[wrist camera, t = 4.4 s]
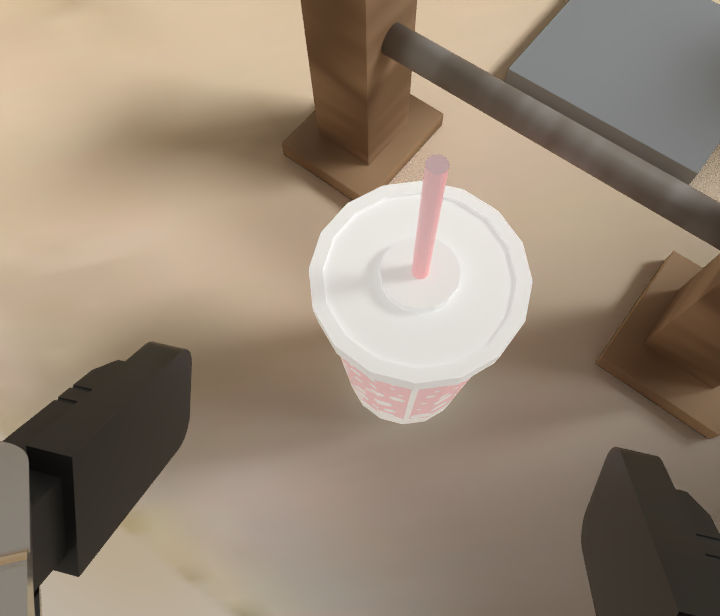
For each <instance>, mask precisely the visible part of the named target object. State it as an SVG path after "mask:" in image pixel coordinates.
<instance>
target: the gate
mask: <svg viewBox="0 0 720 616" xmlns="http://www.w3.org/2000/svg"><path fill="white" fill-rule="evenodd" d="M416 6H417V0H301V7H302V14H303V21H304V29H305V36H306V44H307V51H308V59H309V66H310V73H311V81H312V88H313V96H314V103H315V111H314V112H313V113H312V114H311V115H310V116H309V117H308V118H307V119H306V120H305V121H304V122H303V123H302V124H301V125H300V126H299V127H298V128H297V129H296V130H295V131H294V132H293V133H292V134H291V135H290V136H289V137H288V138H287V139H286V140H285V141H284V142H283V143H282V147H283V151H284V154H285V155H286V156H288V157H289V158H291V159H292V160H294V161H295V162H297V163H298V164H300V165H301V166H303V167H304V168H306V169H307V170H309V171H310V172H312V173H313V174H315V175H316V176H318V177H319V178H321V179H322V180H324V181H325V182H327V183H328V184H330V185H331V186H333V187H334V188H336V189H337V190H338V191H340V192H341V193H343V194H344V195H346V196H347V197H349V198H350V199H352V200H355V199H357V198H359V197H361V196H363V195H365V194H367V193H369V192H371V191H373V190H375V189H377V188H379V187H381V186H383V185H388V183H389V182H390V181H391V180H392V179H393V178H394V177H395V176H396V175H397V174H398V172H399V171H400V170H401V169H402V168H403V167H404V166H405V165H406V164H407V163H408V161H409V160H410V159H411V158H412V157H413V156H414V155H415V154H416V153H417V152H418V150H419V149H420V148H421V147H422V146H423V145H424V144H425V143H426V142H427V141H428V139H429V138H430V137H431V136H432V135H433V134H434V133H435V132H436V131H437V130H438V128H439V127H440V126H441V125H442V120H443V113H441V112H440V111H438V110H436V109H435V108H433V107H431V106H429V105H428V104H426V103H424V102H423V101H421V100H419V99H418V98H416V97H414V96H413V95H411V94H410V86H411V73H412V71H413V72H415V73H417V74H418V75H420V76H422V77H424V78H425V79H427V80H429V81H431V82H432V83H434V84H436V85H437V86H439V87H441V88H443V89H444V90H446V91H448V92H449V93H451V94H453V95H455V96H456V97H458V98H460V99H461V100H463V101H465V102H467V103H468V104H470V105H472V106H473V107H475V108H477V109H479V110H480V111H482V112H484V113H485V114H487V115H489V116H491V117H492V118H494V119H496V120H497V121H499V122H501V123H503V124H504V125H506V126H508V127H509V128H511V129H513V130H515V131H516V132H518V133H520V134H521V135H523V136H525V137H527V138H528V139H530V140H532V141H533V142H535V143H537V144H539V145H540V146H542V147H544V148H545V149H547V150H549V151H551V152H552V153H554V154H556V155H557V156H559V157H561V158H563V159H564V160H566V161H568V162H569V163H571V164H573V165H575V166H576V167H578V168H580V169H581V170H583V171H585V172H587V173H588V174H590V175H592V176H593V177H595V178H597V179H599V180H600V181H602V182H604V183H605V184H607V185H609V186H611V187H612V188H614V189H616V190H617V191H619V192H621V193H623V194H624V195H626V196H628V197H630V198H631V199H633V200H635V201H636V202H638V203H640V204H642V205H643V206H645V207H647V208H648V209H650V210H652V211H654V212H655V213H657V214H659V215H660V216H662V217H664V218H666V219H667V220H669V221H671V222H672V223H674V224H676V225H678V226H679V227H681V228H683V229H684V230H686V231H688V232H690V233H691V234H693V235H695V236H696V237H698V238H700V239H702V240H703V241H705V242H707V243H708V244H710V245H712V246H714V247H715V248H717V249H719V250H720V203H719V202H717V201H716V200H714V199H712V198H710V197H709V196H707V195H705V194H703V193H701V192H700V191H698V190H696V189H694V188H693V187H691V186H689V185H687V184H685V183H684V182H682V181H680V180H678V179H677V178H675V177H673V176H671V175H669V174H668V173H666V172H664V171H662V170H660V169H659V168H657V167H655V166H653V165H652V164H650V163H648V162H646V161H644V160H643V159H641V158H639V157H637V156H636V155H634V154H632V153H630V152H628V151H627V150H625V149H623V148H621V147H620V146H618V145H616V144H614V143H612V142H611V141H609V140H607V139H605V138H604V137H602V136H600V135H598V134H596V133H595V132H593V131H591V130H589V129H587V128H586V127H584V126H582V125H580V124H579V123H577V122H575V121H573V120H571V119H570V118H568V117H566V116H564V115H563V114H561V113H559V112H557V111H555V110H554V109H552V108H550V107H548V106H547V105H545V104H543V103H541V102H539V101H538V100H536V99H534V98H532V97H530V96H529V95H527V94H525V93H523V92H522V91H520V90H518V89H516V88H514V87H513V86H511V85H509V84H507V83H506V82H504V81H502V80H500V79H498V78H497V77H495V76H493V75H491V74H490V73H488V72H486V71H484V70H482V69H481V68H479V67H477V66H475V65H474V64H472V63H470V62H468V61H466V60H465V59H463V58H461V57H459V56H457V55H456V54H454V53H452V52H450V51H449V50H447V49H445V48H443V47H441V46H440V45H438V44H436V43H434V42H433V41H431V40H429V39H427V38H425V37H424V36H422V35H420V34H418V33H417V32H415V20H416ZM596 364H598V365H599V366H601V367H602V368H604V369H605V370H607V371H608V372H610V373H611V374H612V375H614V376H615V377H617V378H618V379H620V380H621V381H623V382H624V383H626V384H627V385H629V386H630V387H632V388H633V389H635V390H636V391H638V392H639V393H641V394H642V395H644V396H645V397H647V398H648V399H650V400H651V401H653V402H654V403H656V404H657V405H659V406H660V407H662V408H663V409H665V410H666V411H668V412H669V413H671V414H672V415H674V416H675V417H677V418H678V419H679V420H681V421H682V422H684V423H685V424H687V425H688V426H690V427H691V428H693V429H694V430H696V431H697V432H699V433H700V434H702V435H703V436H705V437H706V438H708V439H711V438H714V437H717V436H719V435H720V254H719V255H718V256H717V257H715V258H714V259H713V260H712V261H711V262H710V263H709V264H707V265H706V266H705V267H704V268H701V267H700V266H698V265H696V264H695V263H693V262H691V261H690V260H688V259H686V258H685V257H683V256H681V255H680V254H678V253H676V252H675V251H673V252H672V253H671V254H670V255H669V256H668V257H667V258H666V259H665V261H664V262H663V264H662V265H661V267H660V268H659V270H658V271H657V273H656V274H655V276H654V277H653V279H652V280H651V282H650V283H649V285H648V286H647V288H646V289H645V290H644V292H643V293H642V295H641V296H640V298H639V299H638V301H637V302H636V304H635V305H634V307H633V308H632V310H631V311H630V313H629V314H628V316H627V317H626V319H625V320H624V321H623V323H622V324H621V326H620V327H619V329H618V330H617V332H616V333H615V335H614V336H613V338H612V339H611V341H610V342H609V344H608V345H607V347H606V348H605V350H604V351H603V353H602V354H601V355H600V357H599V358H598V360H597V361H596Z"/></svg>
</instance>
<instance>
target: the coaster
mask: <svg viewBox="0 0 720 616" xmlns="http://www.w3.org/2000/svg"><path fill="white" fill-rule="evenodd" d="M505 82H506V83H507V84H509V85H511V86H513V87H514V88H516V89H518V90H520V91H522V92H523V93H525V94H527V95H529V96H530V97H532V98H534V99H536V100H538V101H539V102H541V103H543V104H545V105H547V106H548V107H550V108H552V109H554V110H555V111H557V112H559V113H561V114H563V115H564V116H566V117H568V118H570V119H571V120H573V121H575V122H577V123H579V124H580V125H582V126H584V127H586V128H587V129H589V130H591V131H593V132H595V133H596V134H598V135H600V136H602V137H604V138H605V139H607V140H609V141H611V142H612V143H614V144H616V145H618V146H620V147H621V148H623V149H625V150H627V151H628V152H630V153H632V154H634V155H636V156H637V157H639V158H641V159H643V160H644V161H646V162H648V163H650V164H652V165H653V166H655V167H657V168H659V169H660V170H662V171H664V172H666V173H668V174H669V175H671V176H673V177H675V178H677V179H678V180H680V181H682V182H684V183H685V184H687V185H689V184H690V182H691V181H692V180H693V179H694V178H695V176H696V175H697V174H698V173H699V171H700V170H701V168H702V167H703V166H704V164H705V163H706V161H707V160H708V158H709V157H710V156H711V154H712V153H713V151H714V150H715V148H716V147H717V145H718V144H719V143H720V4H717V3H715V2H713V1H711V0H569V2H568V3H567V4H566V5H565V6H564V7H563V8H562V9H561V11H560V12H559V13H558V14H557V15H556V16H555V17H554V18H553V19H552V21H551V22H550V23H549V24H548V25H547V26H546V27H545V28H544V29H543V31H542V32H541V33H540V34H539V35H538V36H537V37H536V38H535V40H534V41H533V42H532V43H531V44H530V45H529V46H528V47H527V48H526V50H525V51H524V52H523V53H522V54H521V55H520V56H519V57H518V59H517V60H516V61H515V62H514V63H513V64H512V65H511V66H510V67H509V69H508V72H507V76H506V79H505Z"/></svg>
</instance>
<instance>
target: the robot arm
mask: <svg viewBox="0 0 720 616" xmlns="http://www.w3.org/2000/svg"><path fill="white" fill-rule="evenodd" d="M191 366H192V359H191V354H190V352H189V351H188V350H186V349H182V348H178V347H173V346H169V345H164V344H160V343H155V342H149V343H147V344H146V345H144V346H143V347H142V348H141V349H140V350H138V351H137V352H136V353H135V354H134V355H133V356H131V357H130V358H129V359H128V360H127V361H125V362H124V361H120V360H117V361H114V362H111V363H109V364H106V365H104V366H101V367H99V368H96V369H94V370H92V371H90V372H89V373H88V374H87V375H85V376H84V377H83V378H82V379H80V380H79V381H78V382H76V383H75V384H74V386H73V388H69V389H68V390H66V391H65V392H64V393H63V394H61V395H60V396H59V397H58V400H54V401H52V402H51V403H50V404H49V405H47V406H46V407H45V408H44V409H42V410H41V411H40V412H39V413H37V414H36V415H35V416H34V417H32V418H31V419H30V420H29V421H27V422H26V423H25V424H23V425H22V426H21V427H20V428H18V429H17V430H16V431H15V432H13V433H12V434H11V435H10V436H8V437H7V438H6V439H5V440H3V441H0V616H42V613H41V590H40V585H41V584H42V582H43V581H44V580H45V579H46V578H47V576H48V575H49V574H50V573H51V572H52V571H53V570H55V571H59V572H62V573H66V574H70V575H73V576H77V577H79V576H80V575H81V574H82V572H83V571H84V570H85V569H86V567H87V566H88V565H89V563H90V562H91V561H92V559H93V558H94V557H95V556H96V555H97V553H98V552H99V551H100V549H101V548H102V547H103V546H104V544H105V543H106V542H107V540H108V539H109V538H110V536H111V535H112V534H113V533H114V531H115V530H116V529H117V528H118V526H119V525H120V524H121V522H122V521H123V520H124V519H125V517H126V516H127V515H128V513H129V512H130V511H131V510H132V508H133V507H134V506H135V504H136V503H137V502H138V501H139V499H140V498H141V497H142V495H143V494H144V493H145V492H146V490H147V489H148V488H149V486H150V485H151V484H152V483H153V481H154V480H155V479H156V477H157V476H158V475H159V474H160V472H161V471H162V470H163V468H164V467H165V466H166V465H167V463H168V462H169V461H170V459H171V458H172V457H173V456H174V454H175V453H176V452H177V450H178V449H179V448H180V446H181V444H182V442H183V440H184V438H185V435H186V432H187V428H188V424H189V416H190V392H191ZM581 544H582V551H583V556H584V561H585V565H586V570H587V575H588V579H589V584H590V589H591V593H592V598H593V603H594V607H595V612H596V616H720V534H719V532H718V530H717V528H716V526H715V524H714V522H713V520H712V519H711V517H710V515H709V514H708V513H707V512H706V511H705V510H704V509H703V508H702V507H701V506H700V505H699V504H698V503H697V502H696V501H695V500H694V499H693V498H692V497H691V496H690V495H689V494H688V493H687V492H685V491H681V490H676V489H675V488H674V486H673V483H672V481H671V479H670V477H669V475H668V473H667V470H666V468H665V466H664V464H663V462H662V460H661V459H660V458H659V457H658V456H654V455H649V454H645V453H640V452H636V451H632V450H627V449H623V448H618V447H614V448H612V449H611V450H610V452H609V453H608V455H607V457H606V460H605V462H604V465H603V468H602V470H601V473H600V475H599V478H598V481H597V483H596V486H595V489H594V491H593V494H592V496H591V499H590V502H589V504H588V507H587V510H586V512H585V515H584V519H583V525H582V534H581Z"/></svg>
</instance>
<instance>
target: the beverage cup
mask: <svg viewBox="0 0 720 616" xmlns="http://www.w3.org/2000/svg"><path fill="white" fill-rule="evenodd" d="M448 169H449V162H448V160H447V159H446V158H445V157H443V156H441V155H433V156H431V157H429V158H428V159H427V160H426V163H425V169H424V177H423V181H416V182H408V183H400V184H391V185H383V186H381V187H379V188H377V189H375V190H373V191H371V192H369V193H367V194H365V195H363V196H361V197H359V198H357V199H355V200H353V201H351V202H349V203H347V204H346V205H345V206H344V207H343V208H342V210H341V211H340V212H339V213H338V214H337V215H336V216H335V217H334V218H333V220H332V221H331V222H330V223H329V224H328V225H327V226H326V227H325V228H324V230H323V231H322V232H321V234H320V237H319V240H318V243H317V246H316V249H315V252H314V255H313V258H312V260H311V263H310V266H309V278H310V287H311V297H312V306H313V312H314V314H315V316H316V319H317V321H318V323H319V324H320V326H321V328H322V329H323V331H324V333H325V335H326V336H327V338H328V340H329V341H330V343H331V345H332V346H333V348H334V350H335V352H336V353H337V354H338V355H339V356H340V357H341V360H342V362H343V365H344V368H345V370H346V373H347V375H348V378H349V381H350V383H351V386H352V388H353V389H354V391H355V393H356V394H357V396H358V398H359V400H360V401H361V403H362V405H363V406H365V407H366V408H367V409H369V410H370V411H371V412H373V413H374V414H375V415H376V416H378V417H379V418H381V419H384V420H388V421H392V422H396V423H399V424H408V423H416V422H423V421H426V420H428V419H429V418H431V417H433V416H435V415H436V414H438V413H440V412H441V411H443V410H444V409H445V408H446V407H447V406H448V404H449V403H450V402H451V401H452V400H453V398H454V397H455V396H456V395H457V394H458V392H459V391H460V390H461V389H462V387H463V386H464V385H465V384H466V383H467V381H468V380H469V379H470V378H471V377H472V376H473V375H475V374H477V373H478V372H480V371H482V370H484V369H485V368H487V367H489V366H491V365H492V364H494V363H495V362H496V360H497V359H498V358H499V357H500V356H501V354H502V353H503V352H504V350H505V349H506V348H507V346H508V345H509V343H510V342H511V341H512V339H513V338H514V336H515V335H516V334H517V332H518V331H519V329H520V328H521V327H522V325H523V324H524V322H525V321H526V315H527V310H528V304H529V299H530V293H531V288H532V282H533V280H532V276H531V273H530V269H529V265H528V261H527V257H526V253H525V250H524V246H523V242H522V241H521V240H520V238H519V237H518V236H517V235H516V233H515V232H514V231H513V229H512V228H511V227H510V225H509V224H508V223H507V222H506V220H505V219H504V218H503V216H502V215H501V214H500V213H499V211H498V210H496V209H495V208H493V207H491V206H490V205H488V204H486V203H485V202H483V201H482V200H480V199H478V198H477V197H475V196H473V195H472V194H470V193H468V192H467V191H465V190H464V189H460V188H455V187H450V186H446V180H447V175H448Z"/></svg>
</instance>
